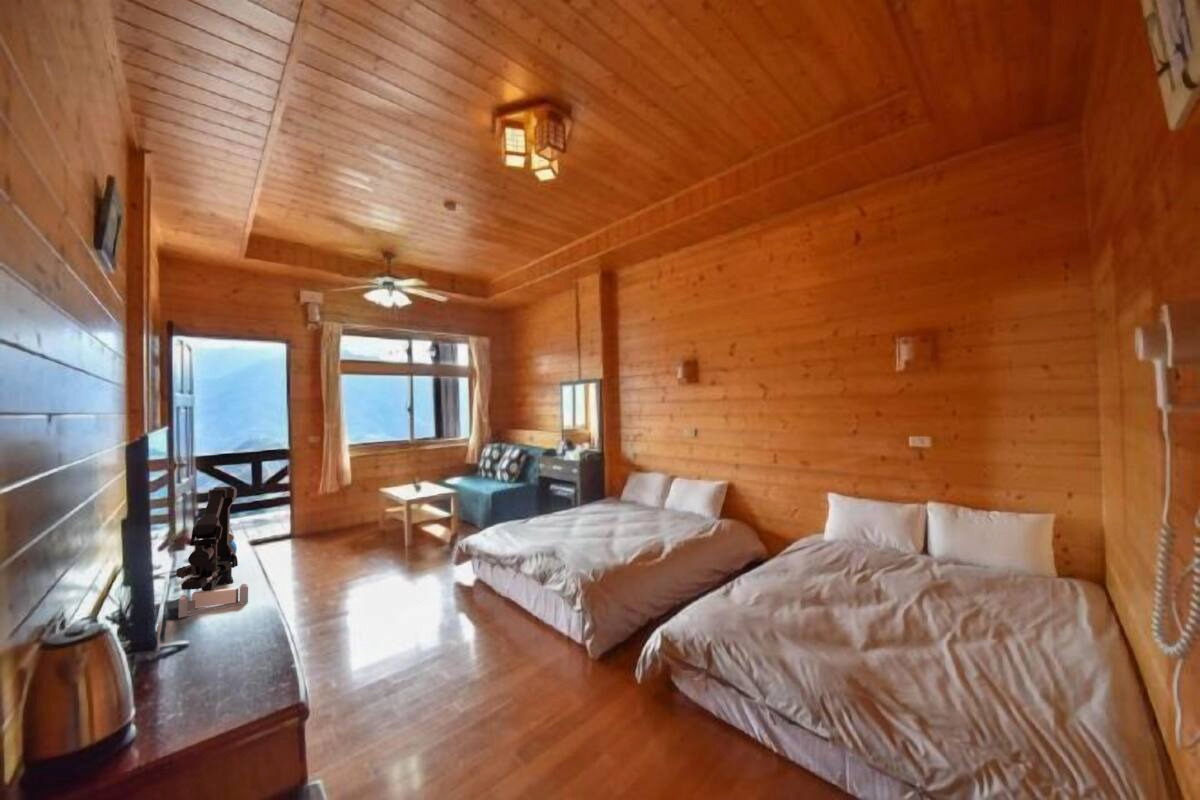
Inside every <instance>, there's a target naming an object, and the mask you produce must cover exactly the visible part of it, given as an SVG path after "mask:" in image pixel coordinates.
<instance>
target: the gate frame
mask: <svg viewBox="0 0 1200 800" xmlns="http://www.w3.org/2000/svg"><path fill="white" fill-rule="evenodd" d="M247 602H248V603H249V584H247V582H243V583H241V585H240V586H239V595H238V603H229V604H220V605H213V606H208V607H205V608H200V609H196V607H195V600H194V601H192V600H189V596H187V595H185V594H182V595H181V596H180V598H178V619H181V618H184V617H191V616H194V615H198V614H204V613H209V612H213V611H217V610H222V609H226V608H231V607H235V606H239V605H243V603H244V604H247Z"/></svg>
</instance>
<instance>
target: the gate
mask: <svg viewBox="0 0 1200 800" xmlns="http://www.w3.org/2000/svg"><path fill="white" fill-rule="evenodd" d="M191 596H192V598H191V601H194V600H195V608H201V607H213V606H218V605H223V604H229V603H238V601H239V588H238V587H230V588H220V589H213V590H210V591H203V590H202V591H194V592H193V593H192V594H191Z"/></svg>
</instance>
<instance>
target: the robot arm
mask: <svg viewBox="0 0 1200 800" xmlns="http://www.w3.org/2000/svg"><path fill="white" fill-rule="evenodd" d="M237 495H238V490H237V488H234V485H233V486H232V485H230V486H214V487H213V488H212V489H209V490H208V496H207V499H208V501H207V504H206V507H205V511H204V513H203V516H202V517H200V518H198V519H197V521H196V523H195V525H194V526H192V530H191V531H192V532H191V536H190V537H191V538H190V542H189V546H190V547H194V546H195V547H194V550H193V551H192V552H191V553H190V555H189V556H188V559H187V561H188V563H189V564H188V565H186V566H182V567H178V568H177V569H176V573H175V576H176V577H177V578H180V579H184V578H186V577H189V576H192V577H189V578H187V579H186V580H185V581H183V582H182V583H181V584H180V585H181V586H180V590H182V591H183V590H184V591H185V590H186V591H187V590H199V589H201V590H202V591H210V590H215V587H218V586H223V585H227V584H233V583H234V578H233V576H232V573H233V569H234V568H236V567H238V566H239V565H238V562H239V561H238V557H237V555H236V554H237V553H236V554H235V553H234V548H233V547H232V545H231V544H230V543H229V534H230V525H231V524H230V523H231V522H230V517H231V514H230V513H231V506H232V505H233V503H234V502H235V500H236V498H237Z"/></svg>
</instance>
